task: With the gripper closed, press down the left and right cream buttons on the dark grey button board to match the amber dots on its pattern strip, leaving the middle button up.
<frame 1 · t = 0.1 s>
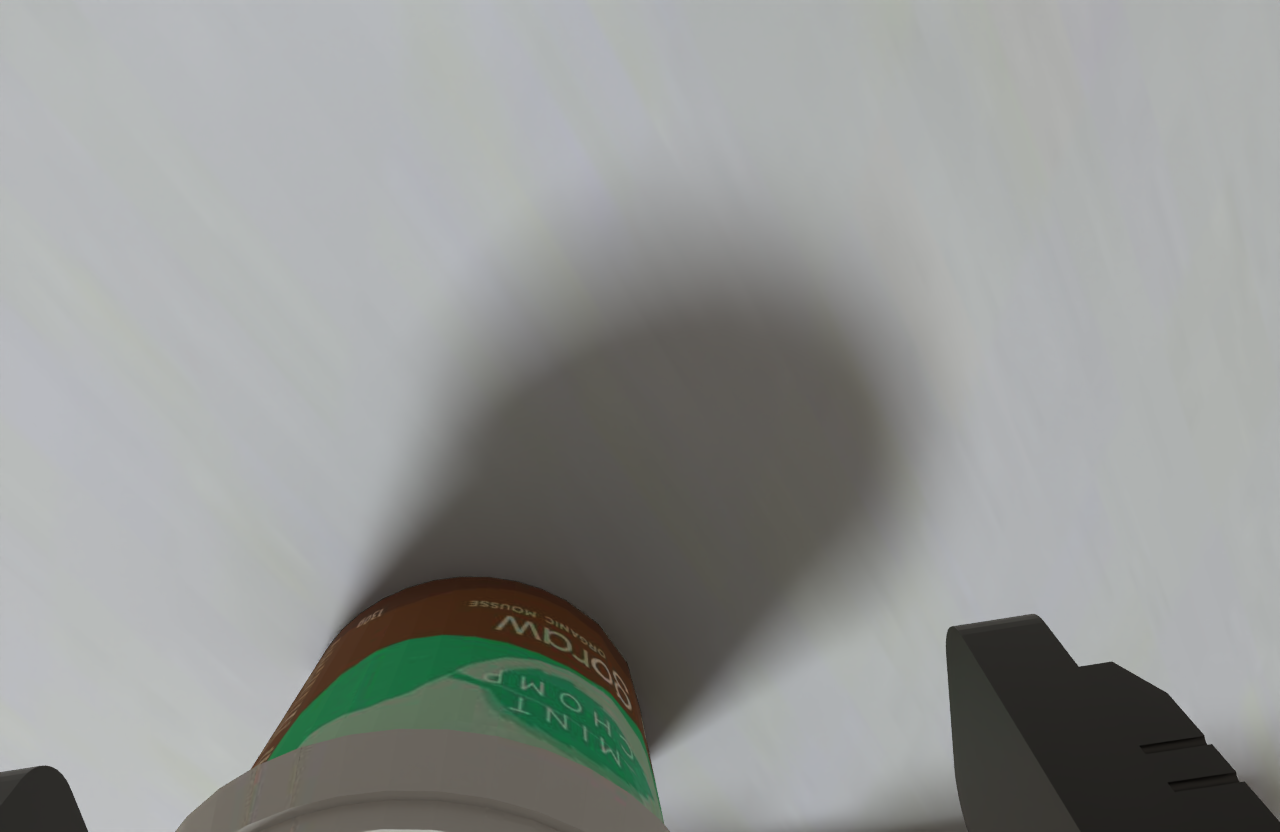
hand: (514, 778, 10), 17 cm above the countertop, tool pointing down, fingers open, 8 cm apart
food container: (515, 640, 29), on the countertop
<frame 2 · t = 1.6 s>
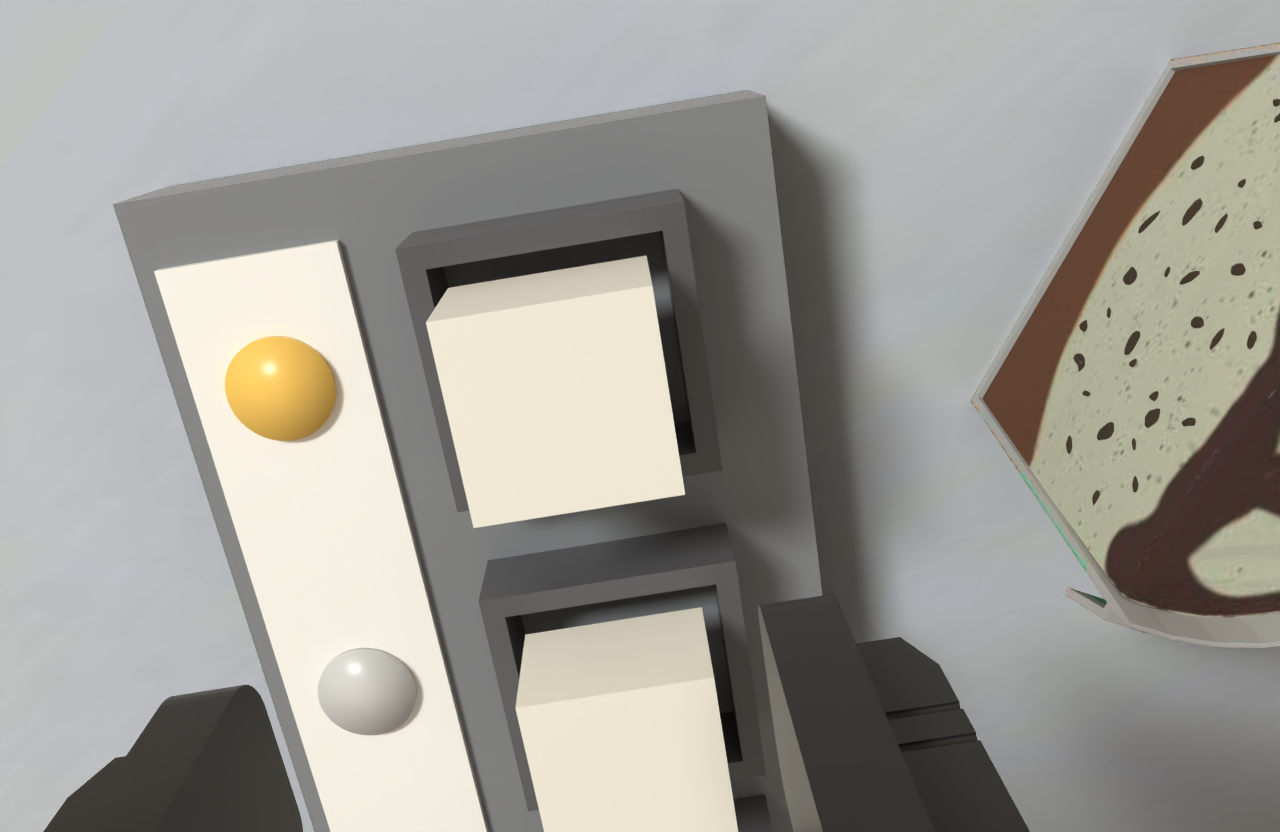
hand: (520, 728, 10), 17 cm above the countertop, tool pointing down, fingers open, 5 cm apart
button board: (552, 598, 29), on the countertop
button middle: (629, 733, 23), point 7 cm above the countertop, slide at 0.0 cm
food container: (1163, 287, 27), on the countertop
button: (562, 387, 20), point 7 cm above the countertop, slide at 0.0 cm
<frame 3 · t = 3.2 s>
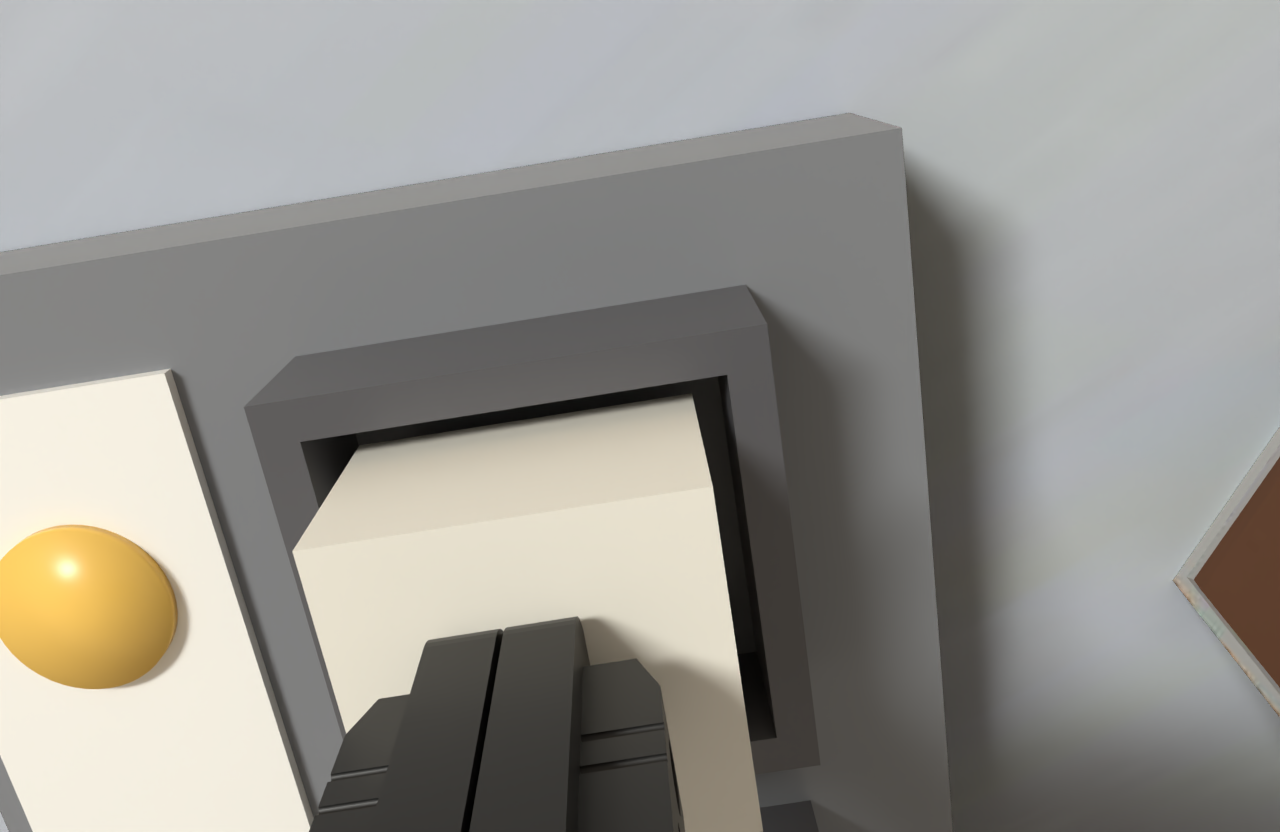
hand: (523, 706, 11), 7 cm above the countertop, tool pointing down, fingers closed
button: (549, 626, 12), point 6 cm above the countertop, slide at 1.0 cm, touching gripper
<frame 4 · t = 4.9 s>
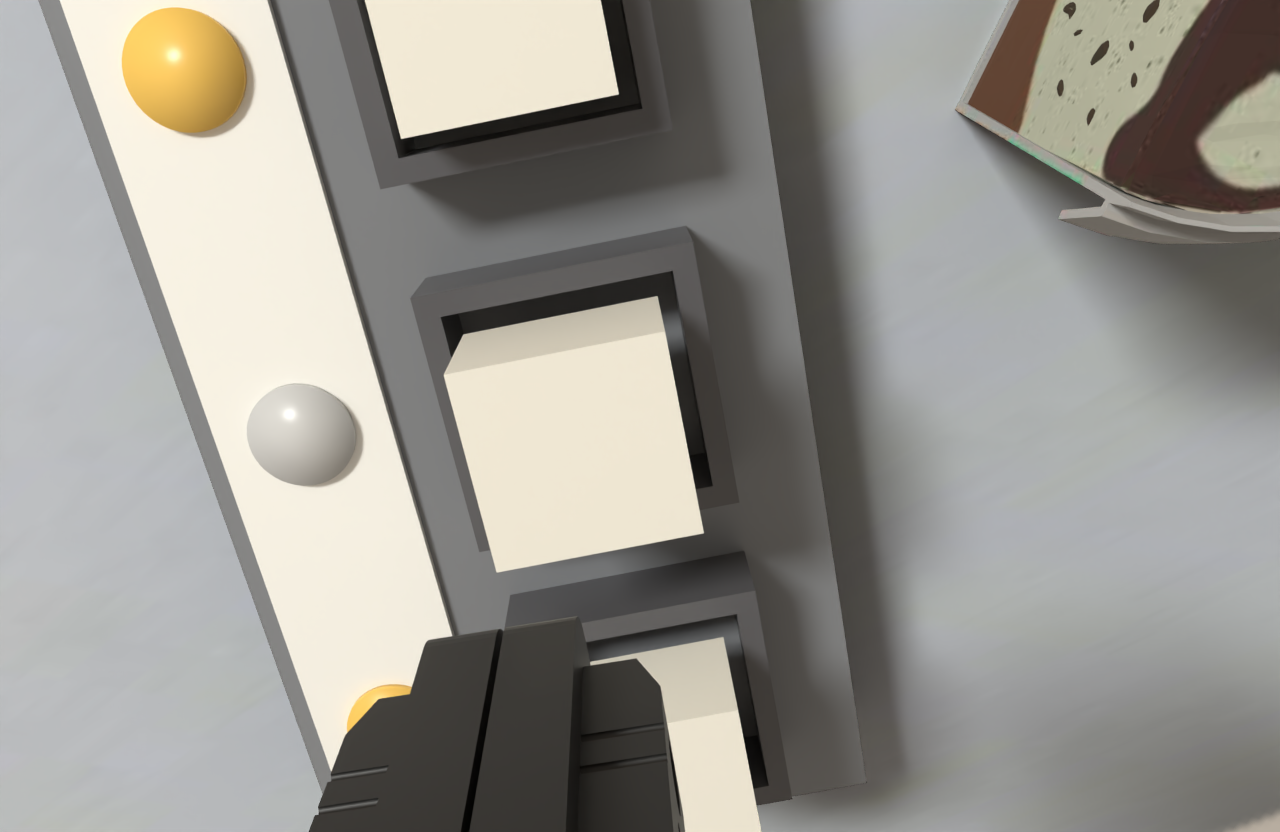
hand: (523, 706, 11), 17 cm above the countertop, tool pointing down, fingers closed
button board: (508, 356, 27), on the countertop
button middle: (579, 430, 21), point 7 cm above the countertop, slide at 0.0 cm
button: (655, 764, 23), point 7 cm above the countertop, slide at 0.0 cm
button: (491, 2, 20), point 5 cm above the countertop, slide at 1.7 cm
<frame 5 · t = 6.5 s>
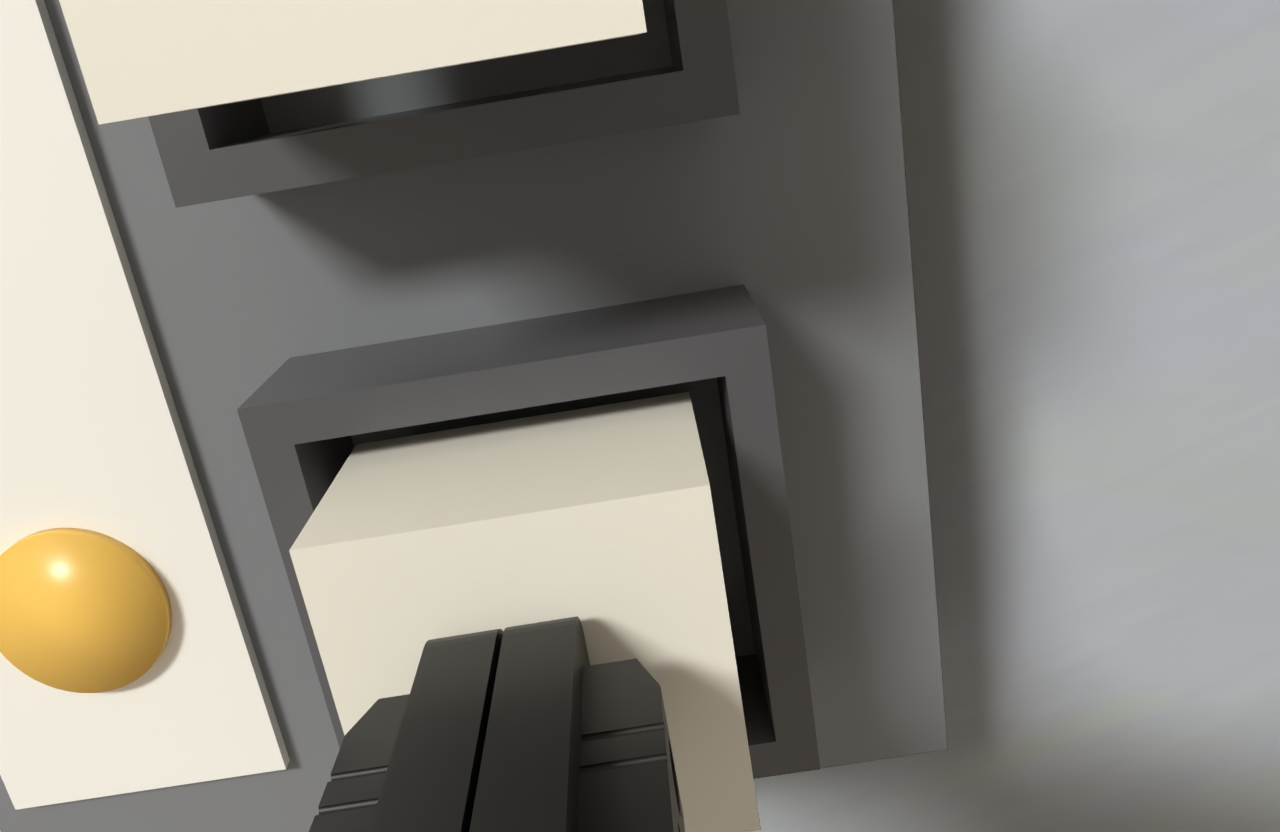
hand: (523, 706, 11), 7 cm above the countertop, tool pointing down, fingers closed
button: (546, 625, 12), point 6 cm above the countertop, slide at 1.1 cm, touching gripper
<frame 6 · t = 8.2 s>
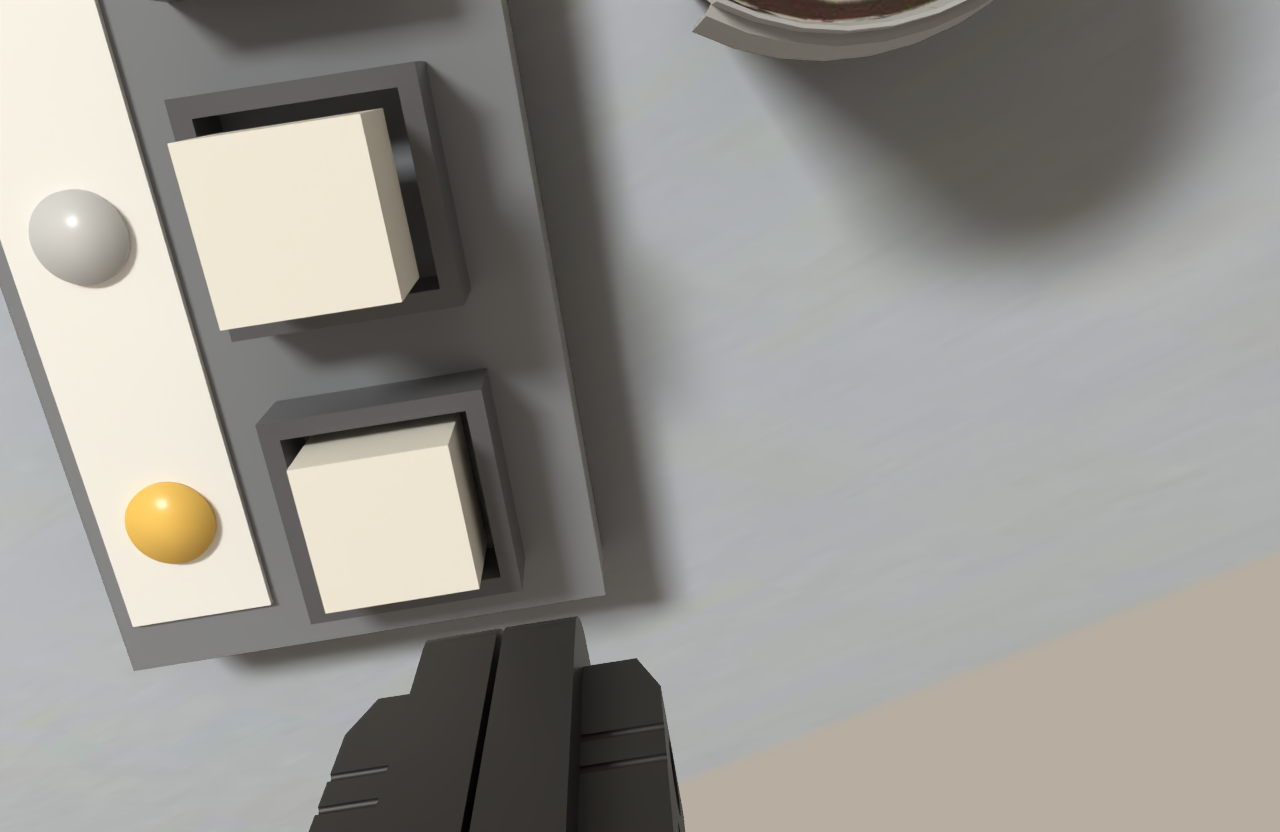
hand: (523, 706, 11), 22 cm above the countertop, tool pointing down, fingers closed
button board: (289, 194, 30), on the countertop
button middle: (303, 216, 24), point 7 cm above the countertop, slide at 0.0 cm
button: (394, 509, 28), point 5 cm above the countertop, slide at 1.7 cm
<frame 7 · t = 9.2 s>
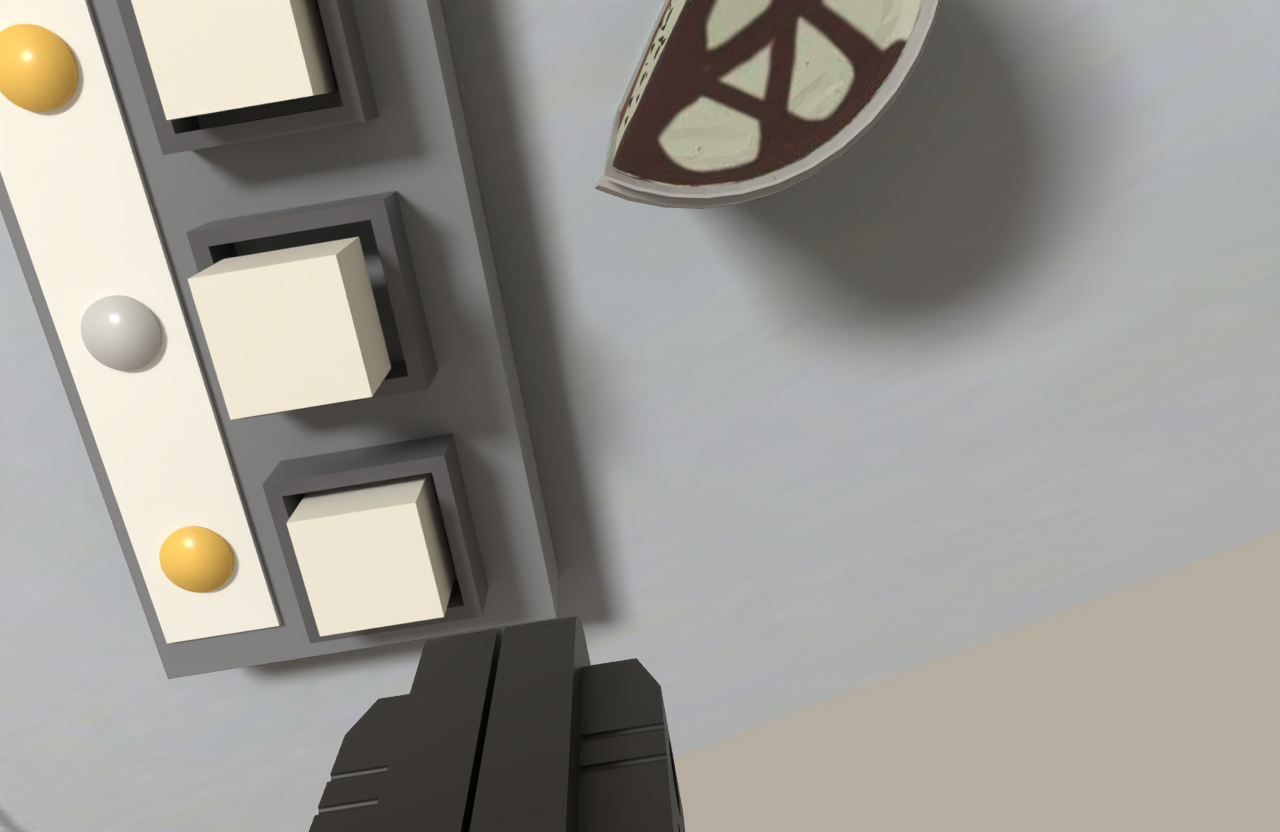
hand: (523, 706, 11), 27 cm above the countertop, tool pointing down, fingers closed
button board: (291, 287, 36), on the countertop
button middle: (296, 326, 30), point 7 cm above the countertop, slide at 0.0 cm
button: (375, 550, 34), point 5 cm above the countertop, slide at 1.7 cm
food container: (761, 19, 34), on the countertop
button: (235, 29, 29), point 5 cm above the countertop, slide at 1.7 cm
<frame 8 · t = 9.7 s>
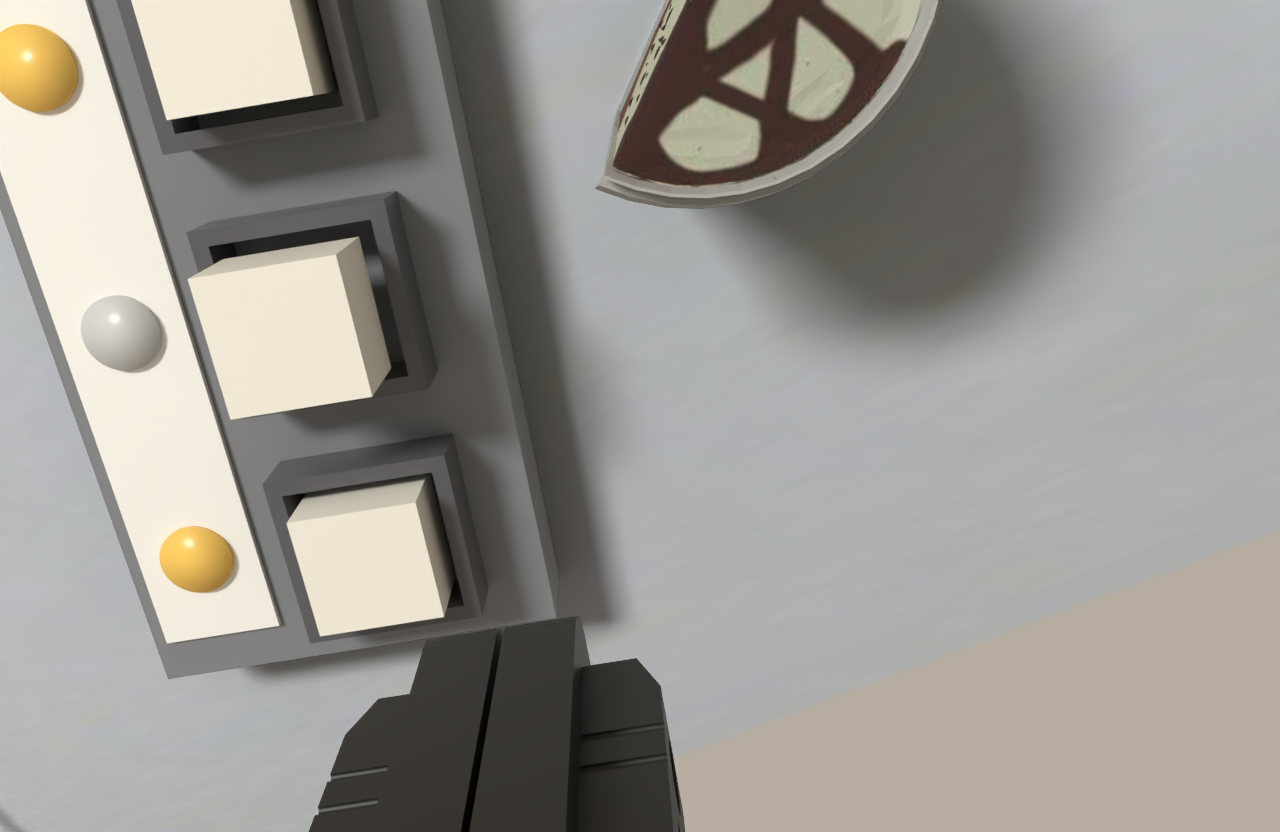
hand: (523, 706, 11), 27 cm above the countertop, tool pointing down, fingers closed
button board: (291, 287, 36), on the countertop
button middle: (296, 326, 30), point 7 cm above the countertop, slide at 0.0 cm
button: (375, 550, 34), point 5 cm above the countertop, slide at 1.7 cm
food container: (761, 19, 34), on the countertop
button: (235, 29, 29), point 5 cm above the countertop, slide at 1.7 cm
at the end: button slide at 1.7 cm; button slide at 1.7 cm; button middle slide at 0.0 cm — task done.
